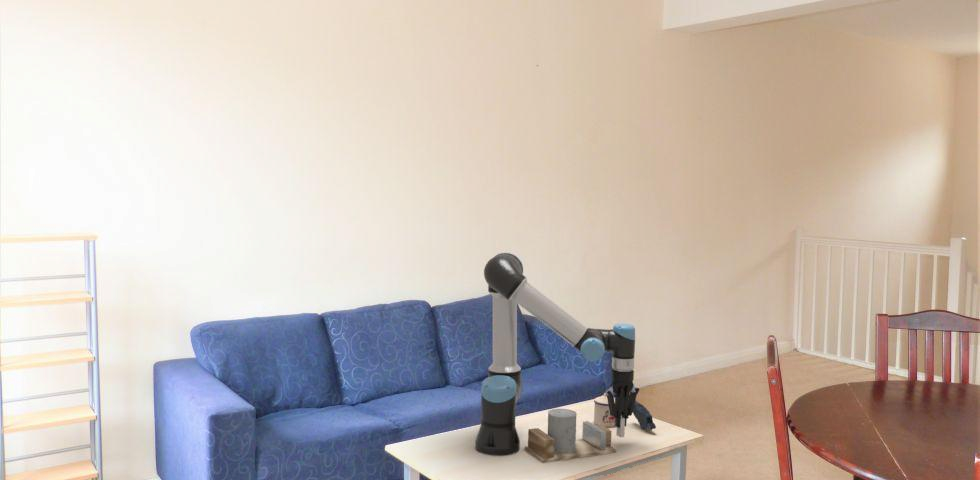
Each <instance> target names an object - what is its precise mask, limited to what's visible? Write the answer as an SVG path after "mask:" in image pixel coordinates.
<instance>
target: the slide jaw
mask: <svg viewBox="0 0 980 480" xmlns="http://www.w3.org/2000/svg"><path fill="white" fill-rule="evenodd" d="M581 439H584V440H585V441H587V442H588V443H590V444H592V445H593V446H595V447H596V448H598V449H599V450H605V449H606V446H608V445H610V446H612V430H611V429H610V428H609V427H604V426H603V425H601V426H598V425H596V424H595V423H594V424H593V422H590V421H588V420H585V421H582V437H581Z"/></svg>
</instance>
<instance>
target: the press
mask: <svg viewBox="0 0 980 480" xmlns="http://www.w3.org/2000/svg"><path fill="white" fill-rule="evenodd" d="M527 431H528V434H527V445H525V446H524V450H525V451H526V452H527V453H529V454H530V455H531V456H532V457H534V458H535V459H536V460H538V461H539V462H540V463H550V462H557V461H563V460H570V459H571V460H572V459H578V458H585V457H592V456H593V457H594V456H598V455H599V456H601V455H605V454H606V455H607V454H614V453H617V449H616V448H615V447H613V446H612V445H608V446H606V449H605V450H599V449H598V448H596V447H595V446H593V445H592V444H590V443H588V442H587V441H585V440H584V439H582V438H580V439H576V443H575V449H576V450H575V451H574V452H573V453H569V454H557V453H554V444H555V439H553V438H552V437H550V436H549V435H548V433H546V432H545V431H543V430H542V429H540V428H539V427H535V428H529V429H527Z"/></svg>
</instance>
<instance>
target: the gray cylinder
mask: <svg viewBox="0 0 980 480" xmlns="http://www.w3.org/2000/svg"><path fill="white" fill-rule="evenodd" d="M547 414H548V416H547V435H549V436H550V437H552V438H553V439H555V444H554V453H557V454H569V453H573V452H574V451H575V450H576V449H575V443H576V440H577V438H576V437H577V414H578V413H577V412H576V411H574V410H572V409H569V408H568V409H567V408H554V409H550V410H548V412H547Z"/></svg>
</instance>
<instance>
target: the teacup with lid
mask: <svg viewBox="0 0 980 480" xmlns="http://www.w3.org/2000/svg"><path fill="white" fill-rule="evenodd" d="M593 402H594V407H593V408H594V413H593V414H594V415H593V416H594V417H593V423H594V425H595V426H601V425H603V426H604V427H606V428H612V427H616V426H615V417H613V416H611V415H610V411H609V405H608V400H607V395H606V394H605V392H604V393H603V395H601V396H598V397H595V398H594V400H593ZM614 402H615V397H614Z"/></svg>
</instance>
